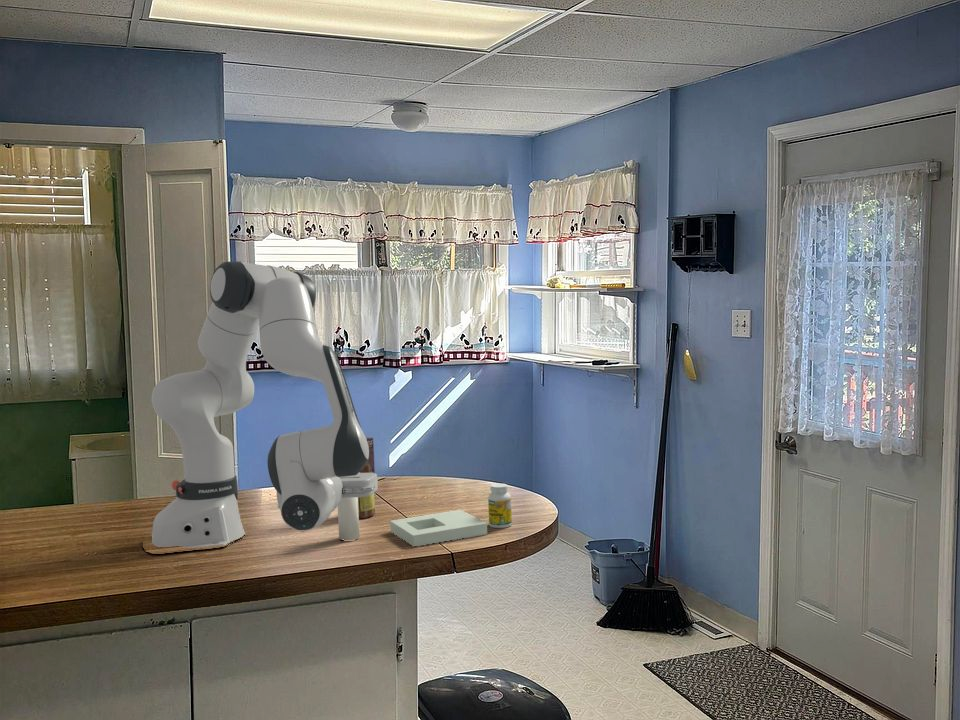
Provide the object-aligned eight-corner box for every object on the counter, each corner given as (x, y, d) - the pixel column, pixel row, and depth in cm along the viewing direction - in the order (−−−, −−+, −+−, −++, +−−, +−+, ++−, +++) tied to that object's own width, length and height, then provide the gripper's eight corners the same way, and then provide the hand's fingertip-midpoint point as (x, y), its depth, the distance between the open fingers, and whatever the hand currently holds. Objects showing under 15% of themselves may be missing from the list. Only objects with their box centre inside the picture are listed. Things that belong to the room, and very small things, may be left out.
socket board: (413, 547, 201) (413, 535, 201) (390, 531, 213) (390, 520, 213) (487, 534, 209) (486, 523, 209) (460, 520, 221) (460, 509, 221)
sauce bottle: (377, 512, 231) (374, 434, 229) (372, 519, 225) (368, 438, 223) (352, 512, 232) (348, 434, 230) (346, 519, 225) (342, 439, 223)
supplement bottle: (515, 523, 217) (514, 483, 216) (505, 529, 212) (504, 488, 211) (495, 521, 220) (494, 481, 219) (484, 527, 215) (483, 486, 214)
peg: (342, 542, 206) (340, 490, 205) (336, 537, 210) (334, 485, 209) (362, 539, 208) (360, 487, 207) (355, 534, 212) (353, 483, 211)
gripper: (371, 475, 181) (382, 460, 194) (268, 477, 182) (287, 462, 196) (373, 506, 181) (384, 490, 195) (270, 508, 182) (288, 492, 196)
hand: (334, 476), depth 195 cm, fingers open, 8 cm apart
